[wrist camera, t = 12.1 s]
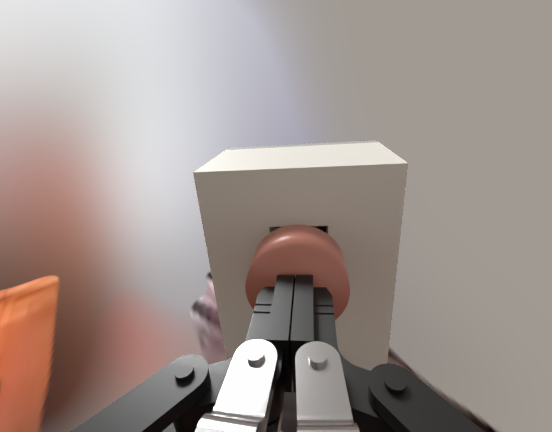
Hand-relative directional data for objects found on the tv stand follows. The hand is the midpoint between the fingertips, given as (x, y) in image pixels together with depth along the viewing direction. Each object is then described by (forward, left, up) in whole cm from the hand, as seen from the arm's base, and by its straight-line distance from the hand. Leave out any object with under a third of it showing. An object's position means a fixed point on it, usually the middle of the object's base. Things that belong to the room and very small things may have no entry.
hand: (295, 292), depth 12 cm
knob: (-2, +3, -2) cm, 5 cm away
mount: (-3, +5, -16) cm, 17 cm away
